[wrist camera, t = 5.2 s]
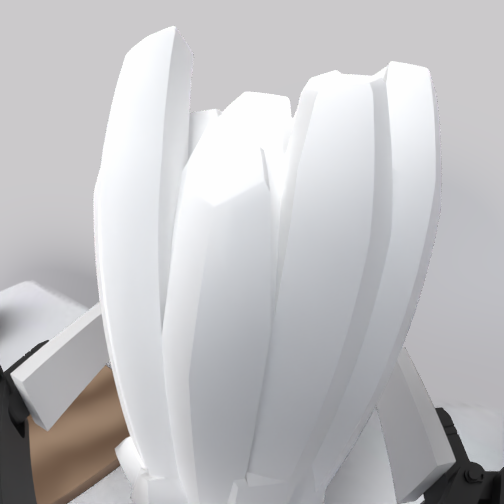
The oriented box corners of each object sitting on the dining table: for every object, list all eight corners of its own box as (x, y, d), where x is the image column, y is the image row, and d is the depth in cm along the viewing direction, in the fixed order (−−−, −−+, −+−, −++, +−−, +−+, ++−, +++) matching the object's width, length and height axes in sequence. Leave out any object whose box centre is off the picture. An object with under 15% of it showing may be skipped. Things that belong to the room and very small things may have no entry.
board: (174, 421, 22) (173, 413, 22) (15, 534, 5) (6, 529, 5) (79, 349, 29) (77, 341, 29) (-46, 409, 12) (-51, 401, 12)
